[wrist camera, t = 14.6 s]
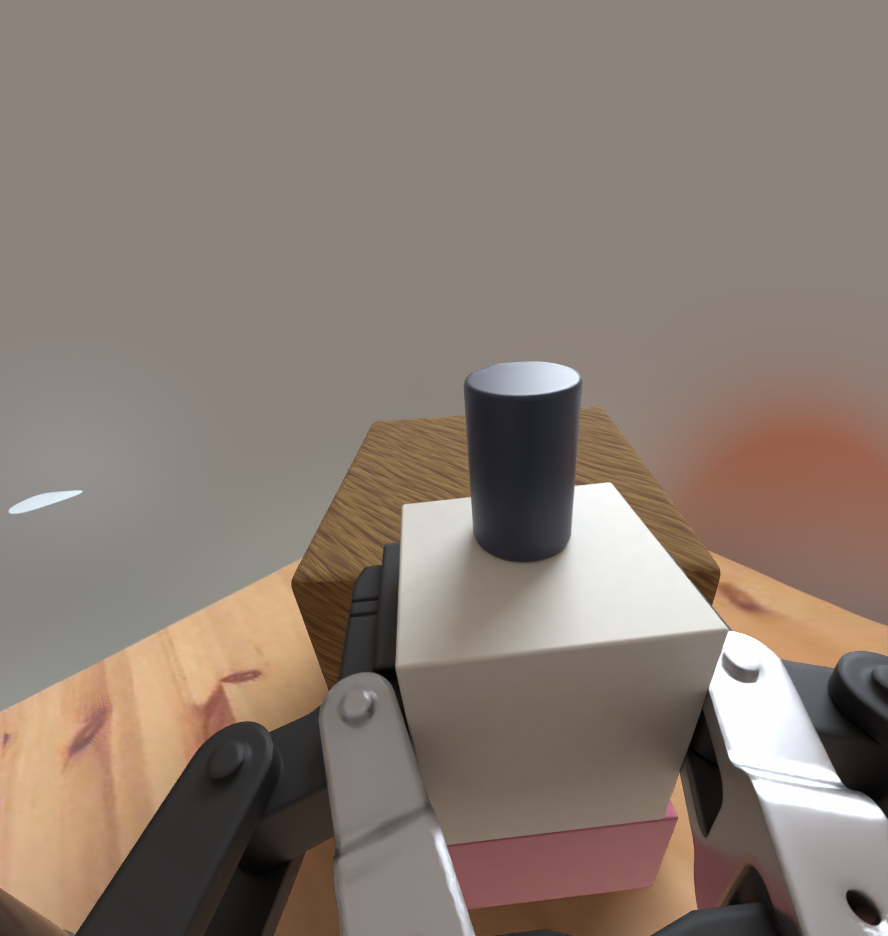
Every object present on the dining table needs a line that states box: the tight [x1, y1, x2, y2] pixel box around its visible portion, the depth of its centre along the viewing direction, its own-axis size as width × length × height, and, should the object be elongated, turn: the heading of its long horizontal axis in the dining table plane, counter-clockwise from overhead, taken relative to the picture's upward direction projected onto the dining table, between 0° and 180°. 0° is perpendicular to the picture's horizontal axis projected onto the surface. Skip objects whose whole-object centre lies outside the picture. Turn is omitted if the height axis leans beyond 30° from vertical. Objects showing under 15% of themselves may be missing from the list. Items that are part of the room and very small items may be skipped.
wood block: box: [292, 407, 720, 691], centre depth 41 cm, size 25×25×25 cm
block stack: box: [395, 362, 729, 910], centre depth 11 cm, size 10×5×12 cm, turn 4°
